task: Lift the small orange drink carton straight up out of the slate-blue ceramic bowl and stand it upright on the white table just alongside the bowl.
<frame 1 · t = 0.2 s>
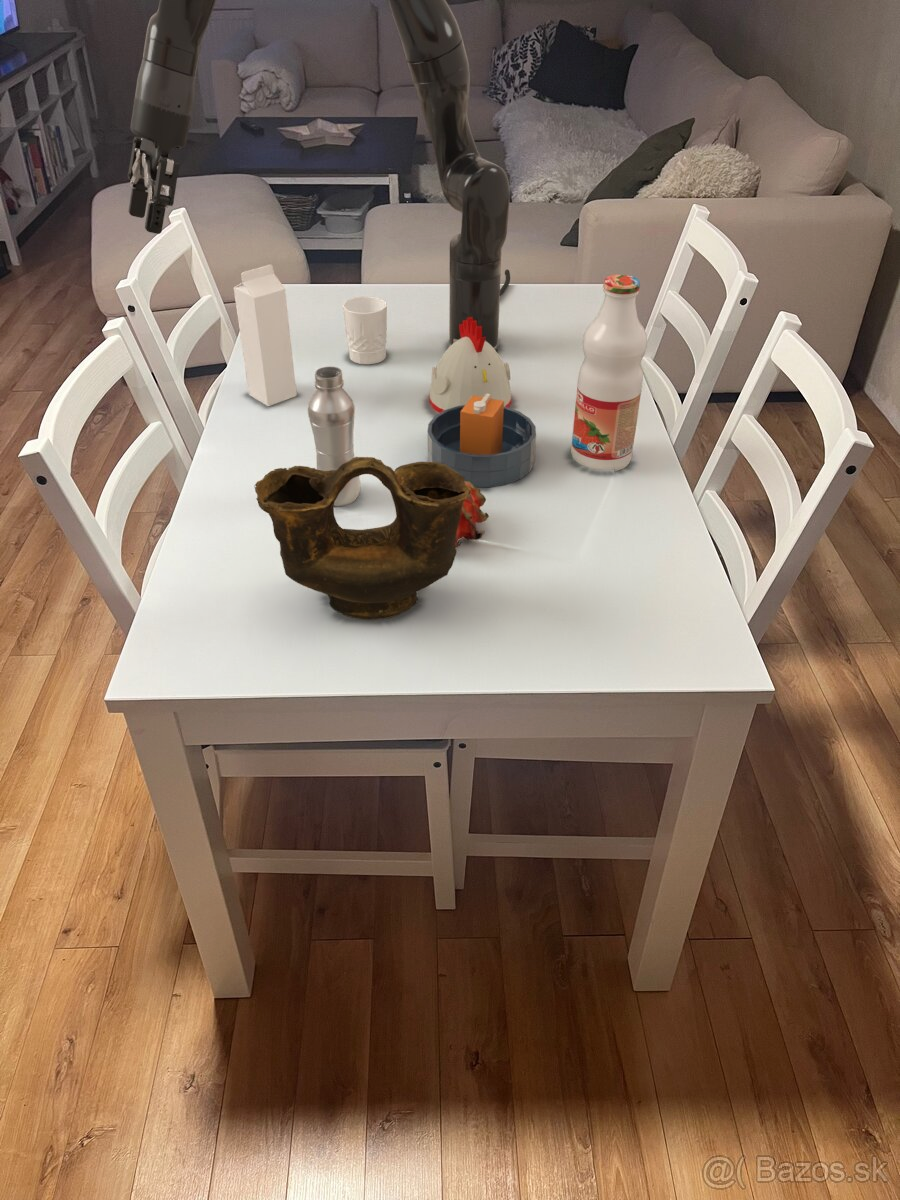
hand: (144, 224, 136), 31 cm above the table, tool tilted 20°, fingers open, 8 cm apart
fruit juice: (600, 459, 146), on the table
carton: (480, 459, 144), point 1 cm above the table, touching bowl
kitchen timer: (470, 405, 160), on the table
pottery vessel: (370, 598, 119), on the table
white cup: (367, 358, 174), on the table
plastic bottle: (339, 501, 136), on the table
dragon fruit: (454, 538, 129), on the table
milk: (273, 396, 162), on the table
bowl: (480, 463, 144), on the table
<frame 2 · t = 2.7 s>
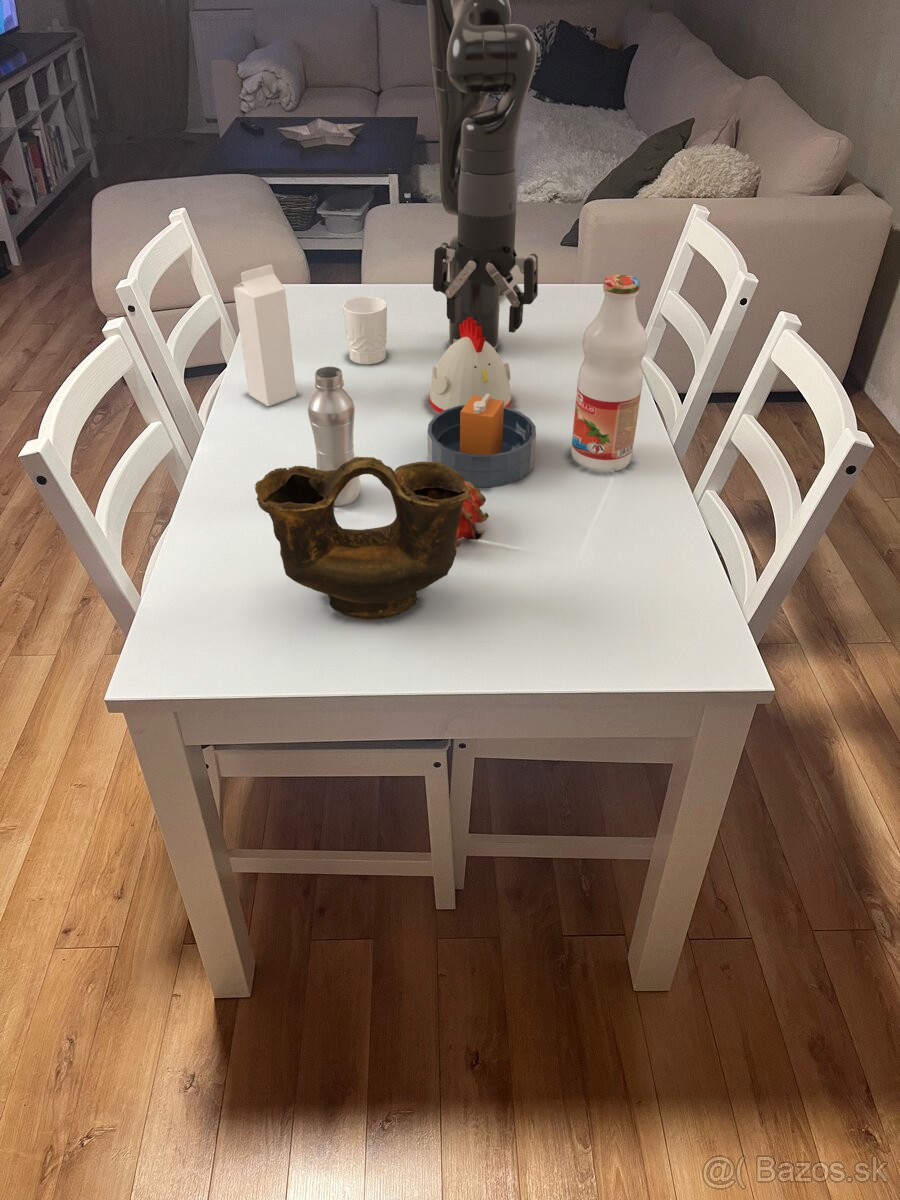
hand: (483, 326, 131), 22 cm above the table, tool pointing down, fingers open, 8 cm apart
nothing on the table moved.
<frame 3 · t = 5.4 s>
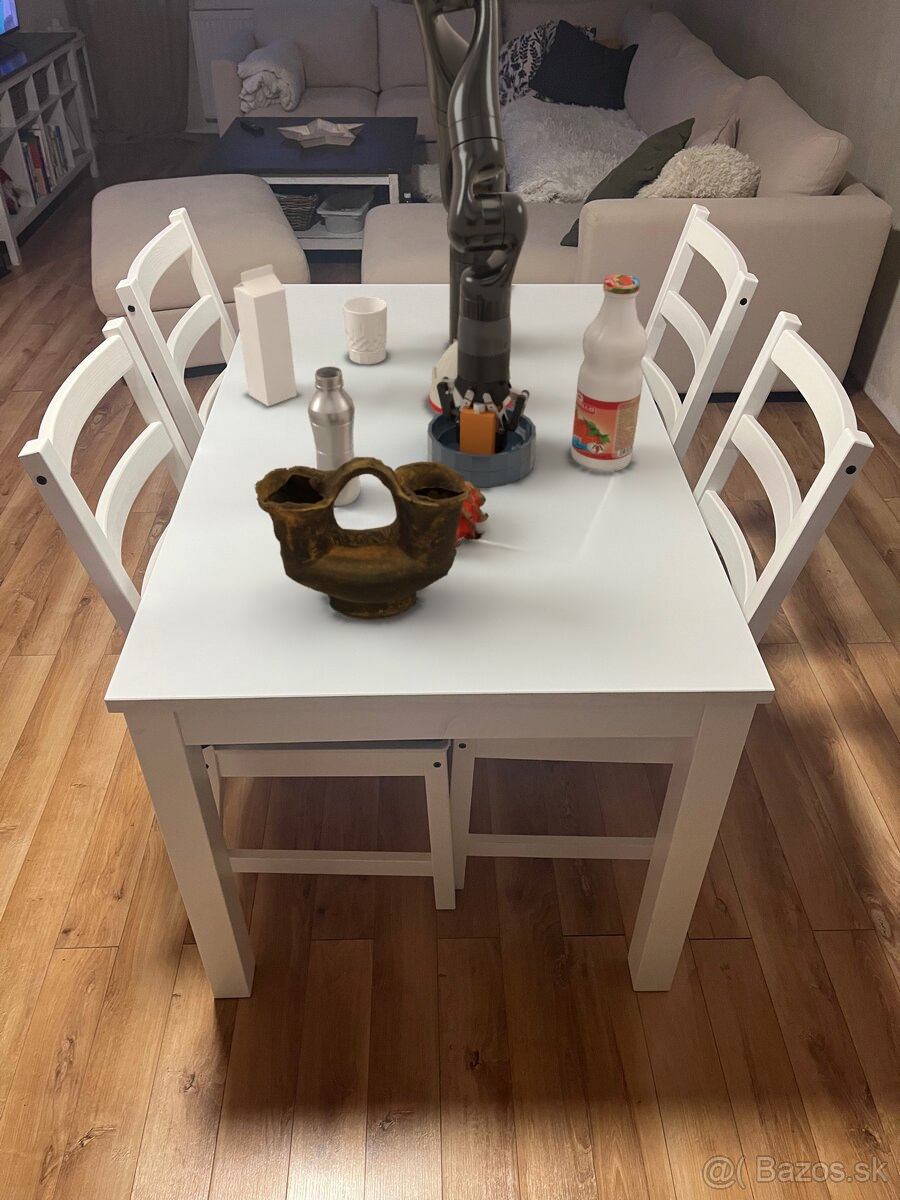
hand: (481, 448, 143), 3 cm above the table, tool pointing down, fingers closed on carton, 5 cm apart
carton: (480, 459, 144), point 1 cm above the table, touching bowl, gripper
everything else where it was.
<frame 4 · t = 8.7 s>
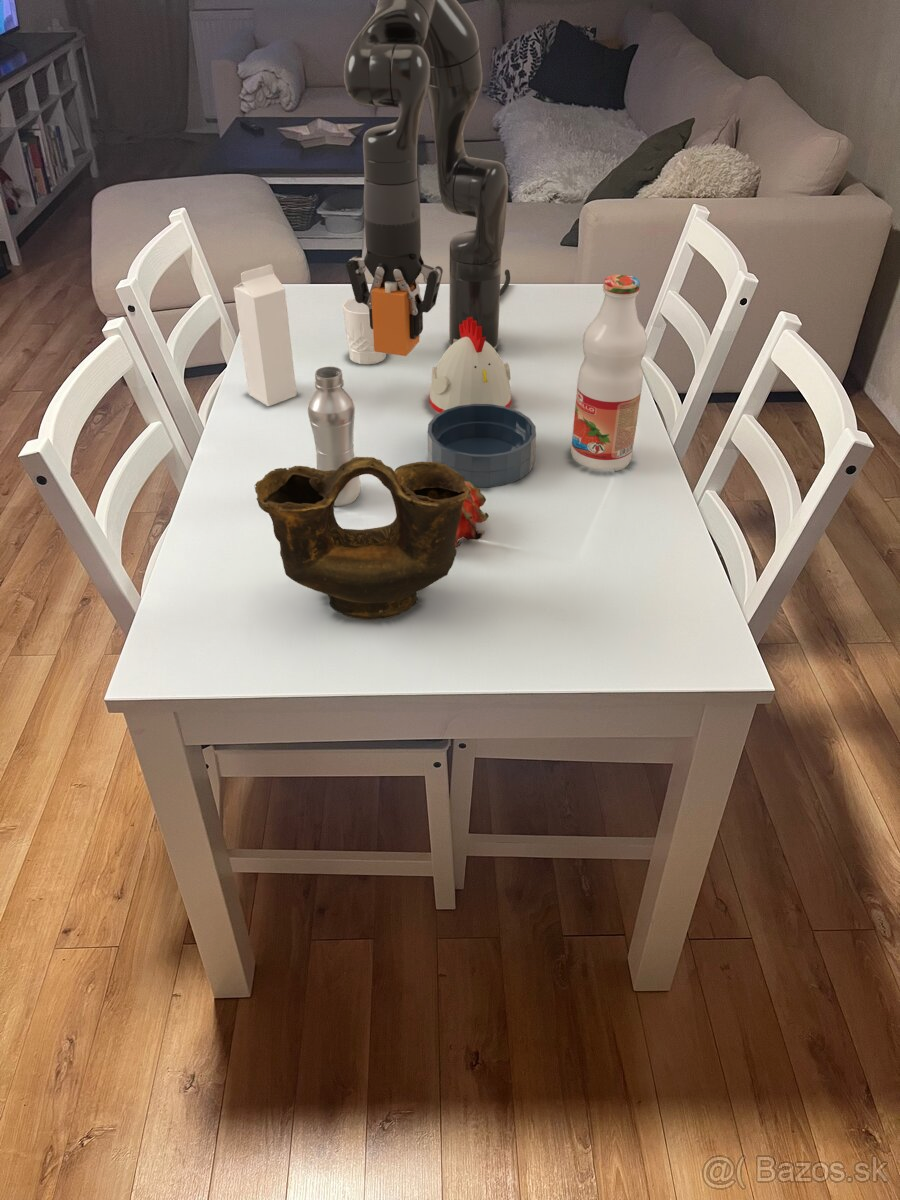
hand: (396, 334, 136), 19 cm above the table, tool pointing down, fingers closed on carton, 5 cm apart
carton: (397, 346, 137), point 17 cm above the table, touching gripper
everything else where it was.
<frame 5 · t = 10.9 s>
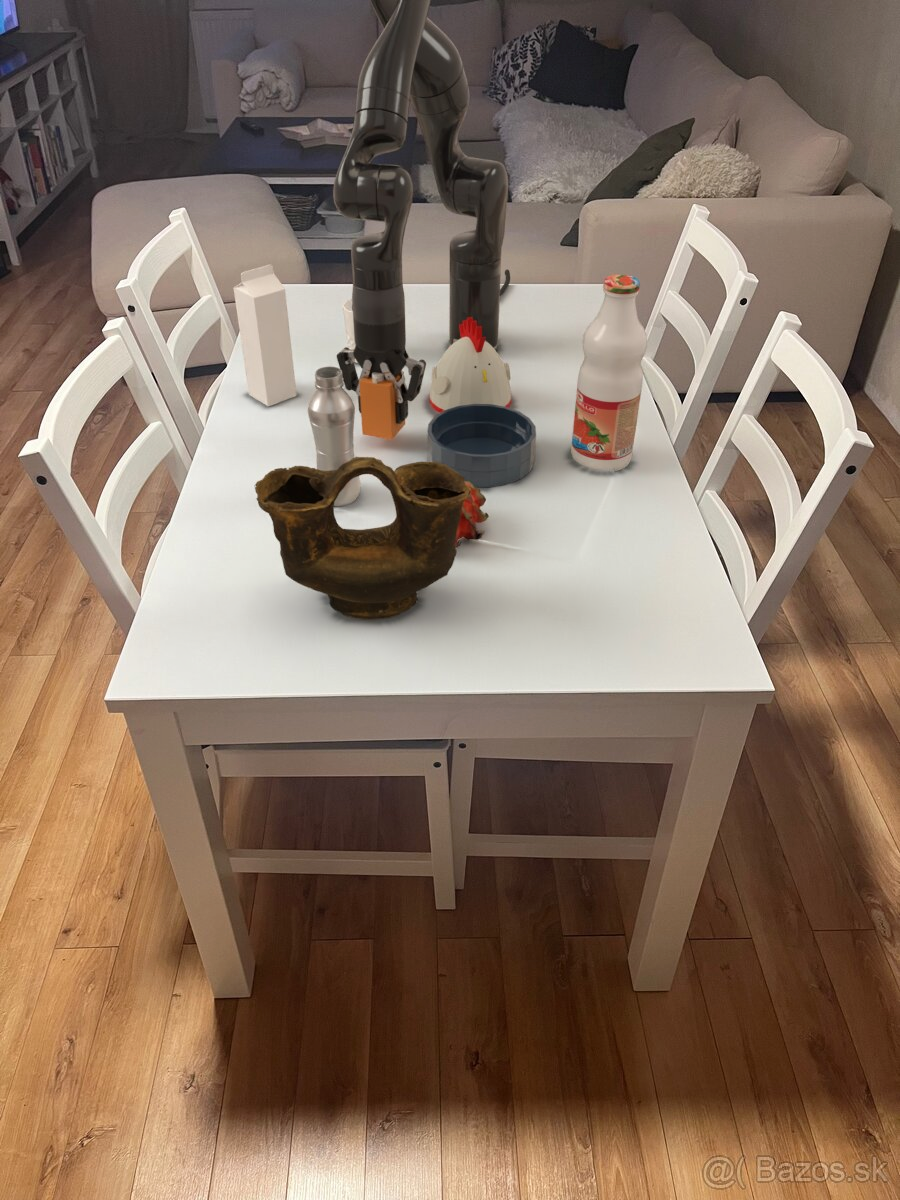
hand: (383, 418, 146), 5 cm above the table, tool pointing down, fingers closed on carton, 5 cm apart
carton: (384, 429, 147), point 3 cm above the table, touching gripper
everything else where it was.
when the fingers open (2 cm above the table, at t = 12.2 s): carton stays where it is, on the table.
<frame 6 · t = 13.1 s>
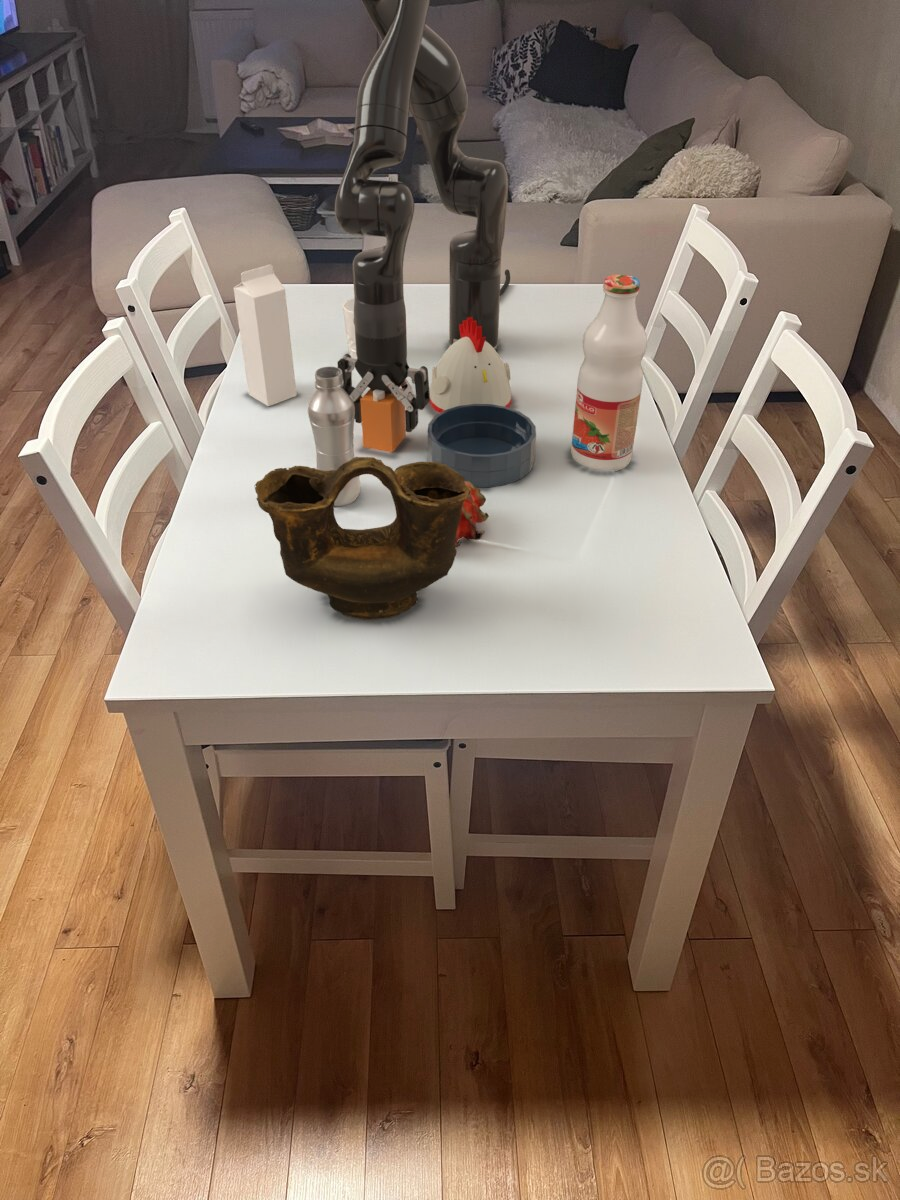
hand: (385, 425, 147), 4 cm above the table, tool pointing down, fingers open, 8 cm apart
carton: (384, 445, 149), on the table
everything else where it was.
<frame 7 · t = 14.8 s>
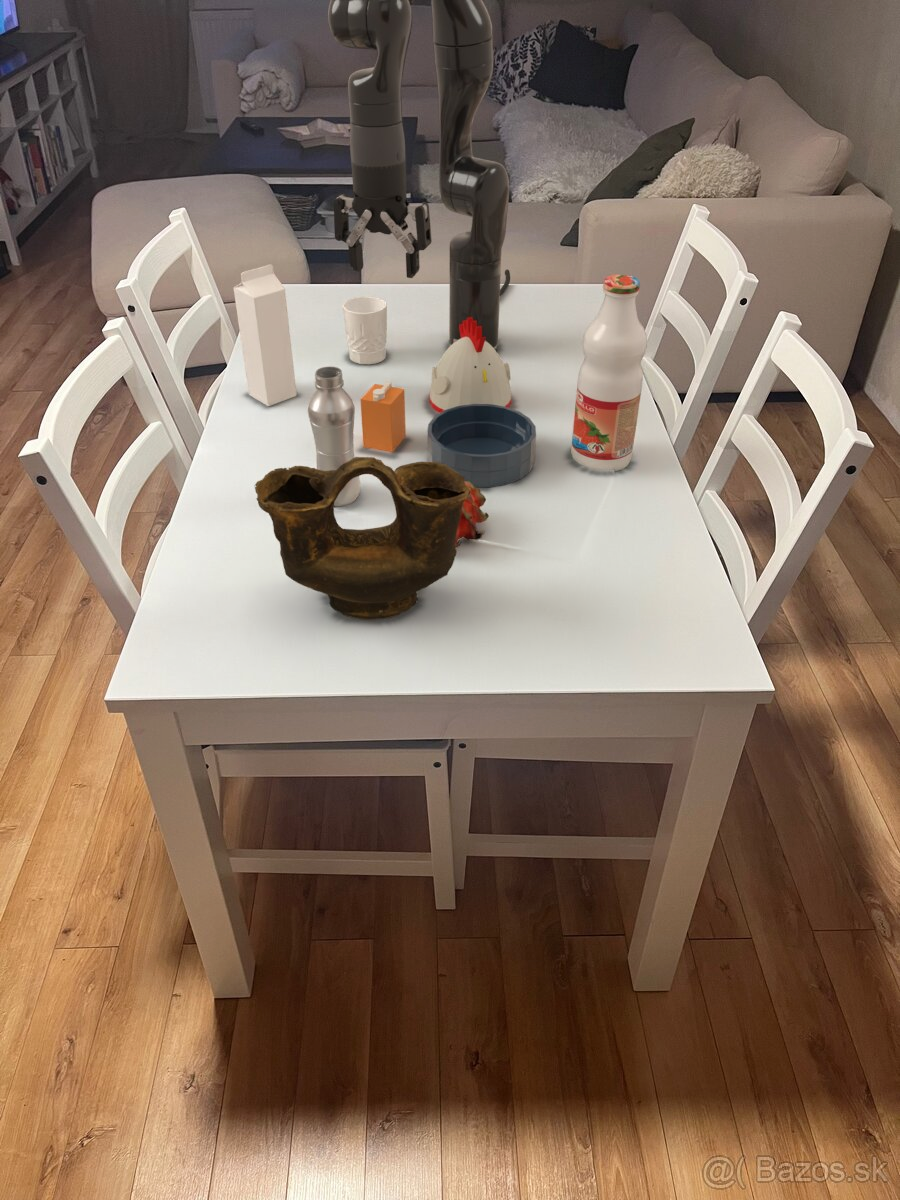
hand: (384, 273, 139), 25 cm above the table, tool pointing down, fingers open, 8 cm apart
nothing on the table moved.
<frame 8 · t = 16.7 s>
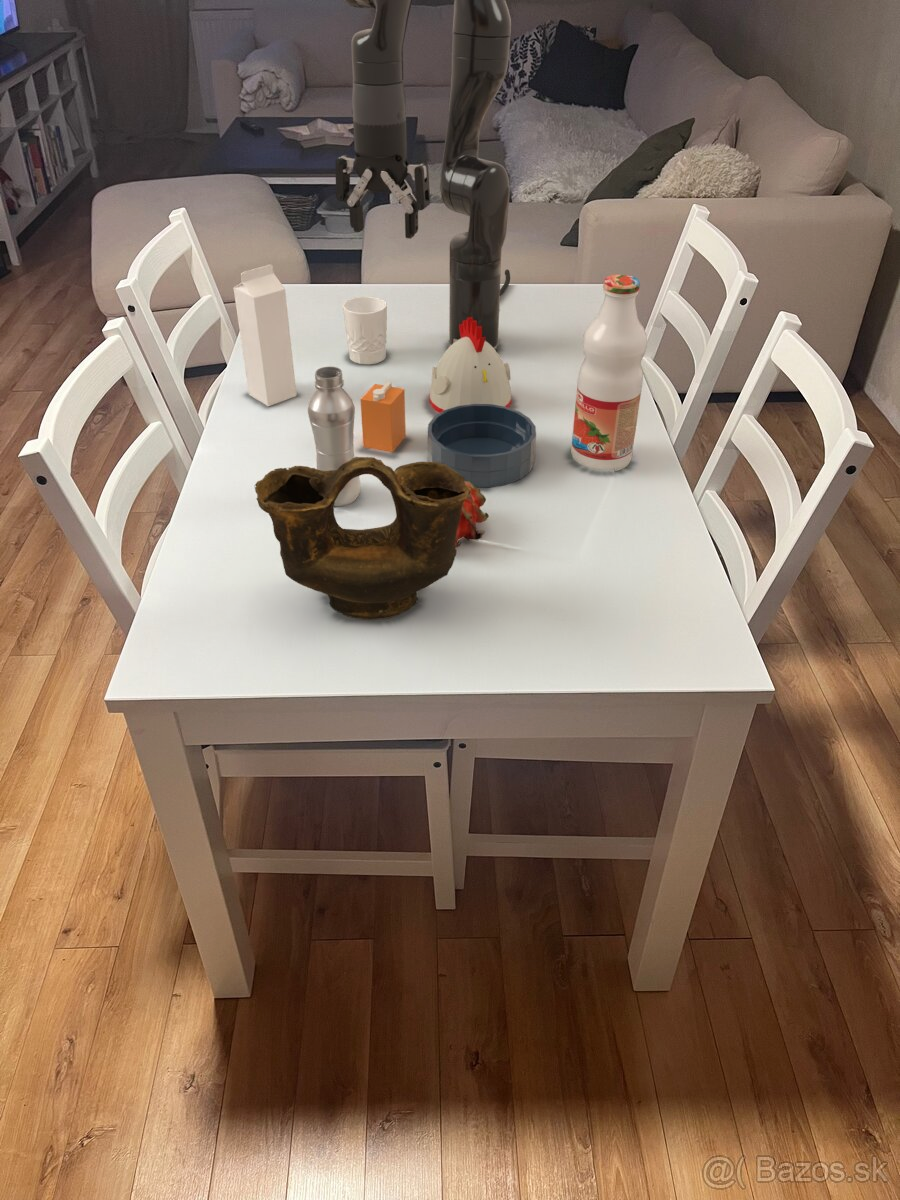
hand: (384, 233, 143), 28 cm above the table, tool pointing down, fingers open, 8 cm apart
nothing on the table moved.
at the end: carton inside the target area (0.1 cm from its centre), on the table; carton tilted 0°; the gripper is holding nothing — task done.
